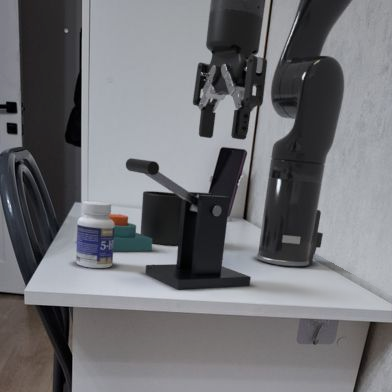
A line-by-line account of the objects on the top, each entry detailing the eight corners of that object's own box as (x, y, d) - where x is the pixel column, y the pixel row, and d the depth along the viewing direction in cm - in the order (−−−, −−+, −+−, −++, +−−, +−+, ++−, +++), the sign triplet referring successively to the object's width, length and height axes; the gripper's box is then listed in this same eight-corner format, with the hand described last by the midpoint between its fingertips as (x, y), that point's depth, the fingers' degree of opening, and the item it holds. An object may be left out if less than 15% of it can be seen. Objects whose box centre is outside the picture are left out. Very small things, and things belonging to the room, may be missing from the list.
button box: (131, 242, 102) (132, 221, 101) (151, 251, 96) (153, 228, 94) (80, 242, 97) (81, 219, 95) (98, 251, 90) (99, 227, 89)
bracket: (177, 289, 71) (186, 196, 67) (145, 273, 78) (151, 188, 74) (249, 285, 77) (261, 200, 73) (213, 271, 84) (222, 192, 80)
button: (122, 224, 97) (122, 214, 97) (131, 227, 95) (131, 217, 94) (103, 224, 95) (103, 213, 95) (112, 227, 93) (112, 216, 92)
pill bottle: (105, 270, 77) (108, 206, 74) (70, 265, 78) (71, 201, 75) (117, 264, 82) (120, 203, 79) (84, 259, 83) (86, 199, 80)
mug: (165, 235, 116) (168, 191, 113) (196, 245, 107) (201, 198, 104) (125, 234, 111) (128, 188, 108) (155, 245, 101) (158, 195, 98)
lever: (144, 174, 64) (153, 155, 64) (122, 170, 69) (130, 152, 69) (220, 223, 73) (228, 207, 73) (196, 217, 77) (203, 201, 77)
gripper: (290, 13, 72) (271, 143, 77) (228, 27, 83) (214, 139, 88) (246, -2, 68) (228, 136, 73) (186, 14, 79) (175, 133, 84)
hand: (221, 138), depth 81 cm, fingers open, 8 cm apart
